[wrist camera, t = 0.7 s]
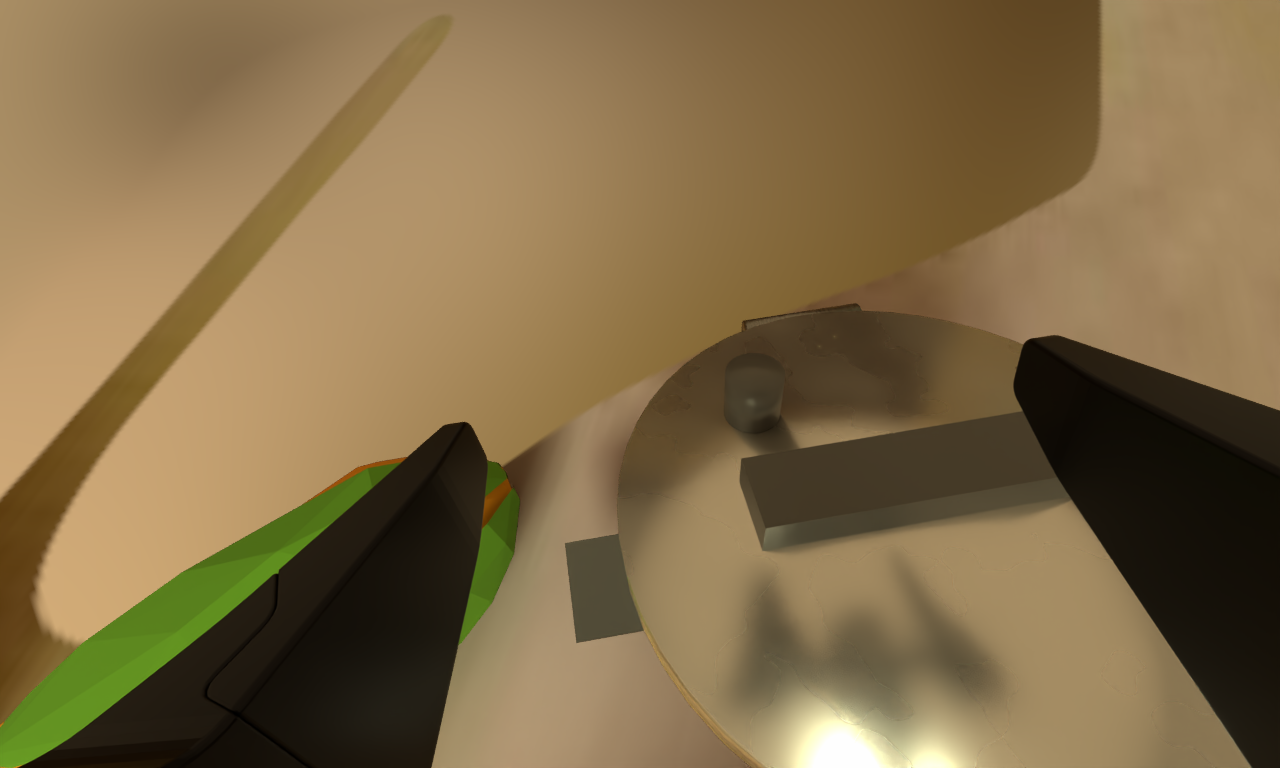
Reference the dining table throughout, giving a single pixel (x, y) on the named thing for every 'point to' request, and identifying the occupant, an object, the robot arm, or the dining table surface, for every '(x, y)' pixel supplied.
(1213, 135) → the dining table surface
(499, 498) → the corn
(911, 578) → the lid
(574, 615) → the pot
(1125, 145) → the dining table surface
